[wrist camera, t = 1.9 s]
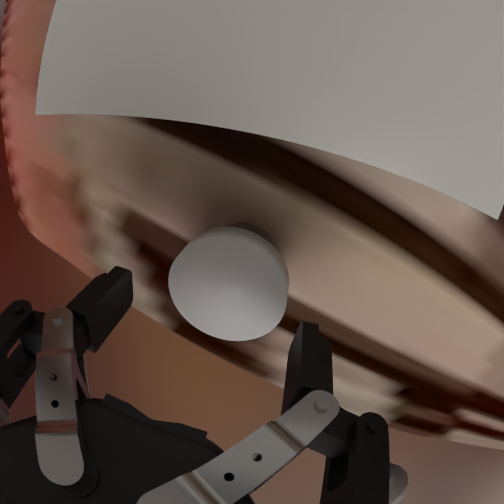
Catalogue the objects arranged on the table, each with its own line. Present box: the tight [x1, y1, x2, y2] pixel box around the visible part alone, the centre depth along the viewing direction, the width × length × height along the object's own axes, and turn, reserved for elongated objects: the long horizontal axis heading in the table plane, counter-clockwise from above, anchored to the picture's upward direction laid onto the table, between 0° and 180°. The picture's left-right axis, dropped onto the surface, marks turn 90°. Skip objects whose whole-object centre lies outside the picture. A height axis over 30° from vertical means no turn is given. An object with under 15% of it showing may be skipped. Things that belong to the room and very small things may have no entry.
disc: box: [168, 227, 289, 341], centre depth 15 cm, size 6×6×2 cm
